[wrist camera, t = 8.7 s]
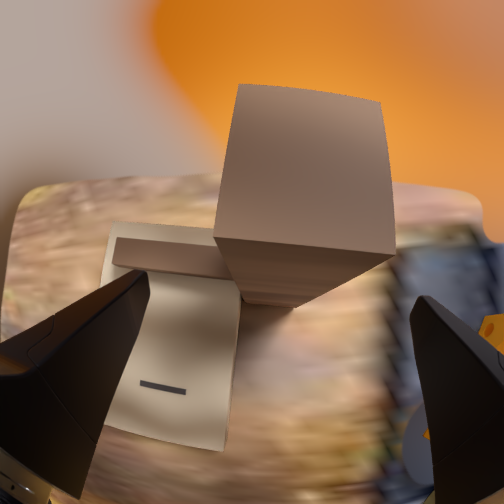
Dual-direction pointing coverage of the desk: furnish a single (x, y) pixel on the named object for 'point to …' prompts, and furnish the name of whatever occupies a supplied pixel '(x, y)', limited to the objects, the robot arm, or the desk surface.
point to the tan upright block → (290, 200)
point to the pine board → (178, 349)
